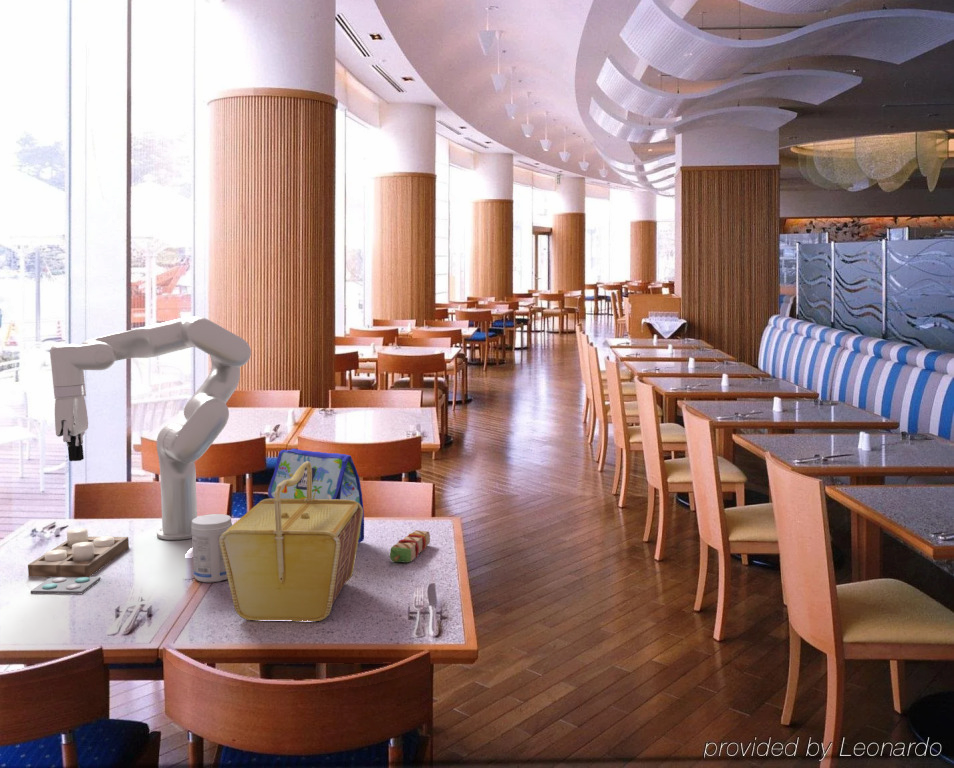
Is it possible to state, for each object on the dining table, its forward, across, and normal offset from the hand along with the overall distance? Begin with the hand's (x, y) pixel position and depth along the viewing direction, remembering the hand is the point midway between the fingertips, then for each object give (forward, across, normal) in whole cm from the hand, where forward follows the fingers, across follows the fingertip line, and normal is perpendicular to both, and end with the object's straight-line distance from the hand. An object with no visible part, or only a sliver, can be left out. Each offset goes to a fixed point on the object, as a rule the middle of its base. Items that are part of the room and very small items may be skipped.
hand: (76, 460), depth 241 cm
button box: (+25, +9, +3) cm, 26 cm away
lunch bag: (+27, -4, +61) cm, 67 cm away
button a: (+24, +4, +6) cm, 26 cm away
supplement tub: (+26, +22, +40) cm, 53 cm away
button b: (+22, +3, 0) cm, 22 cm away
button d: (+24, +15, -1) cm, 28 cm away
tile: (+24, +28, +7) cm, 38 cm away
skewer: (+28, +6, +87) cm, 91 cm away
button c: (+22, +15, +6) cm, 28 cm away
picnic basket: (+26, +39, +64) cm, 79 cm away
